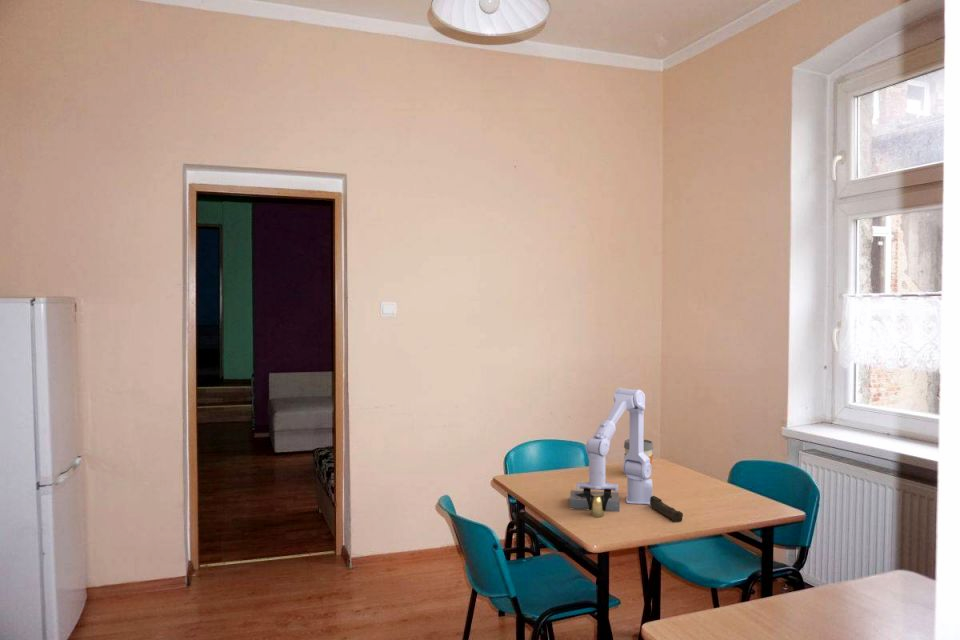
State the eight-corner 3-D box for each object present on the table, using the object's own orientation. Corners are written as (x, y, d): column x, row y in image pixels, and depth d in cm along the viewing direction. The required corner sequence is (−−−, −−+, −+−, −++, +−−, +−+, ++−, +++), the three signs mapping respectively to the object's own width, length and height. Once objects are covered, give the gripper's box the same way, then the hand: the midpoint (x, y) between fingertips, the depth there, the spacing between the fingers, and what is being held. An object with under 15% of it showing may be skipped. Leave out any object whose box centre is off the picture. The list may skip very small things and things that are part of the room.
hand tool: (683, 522, 222) (683, 509, 222) (672, 523, 221) (673, 510, 221) (657, 506, 240) (657, 494, 240) (647, 507, 240) (647, 494, 239)
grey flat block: (618, 501, 245) (618, 492, 245) (619, 511, 233) (619, 501, 233) (570, 499, 248) (570, 490, 248) (569, 508, 236) (569, 499, 236)
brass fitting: (603, 513, 230) (603, 494, 230) (603, 517, 226) (603, 497, 226) (590, 512, 231) (591, 493, 231) (590, 516, 227) (590, 497, 227)
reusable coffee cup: (647, 471, 290) (647, 438, 290) (657, 478, 278) (657, 444, 277) (620, 472, 289) (620, 438, 289) (628, 479, 277) (628, 444, 276)
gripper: (576, 473, 226) (576, 512, 226) (618, 475, 223) (618, 514, 223) (577, 468, 233) (576, 506, 233) (617, 470, 230) (617, 508, 230)
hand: (597, 509), depth 229 cm, fingers closed on brass fitting, 4 cm apart
